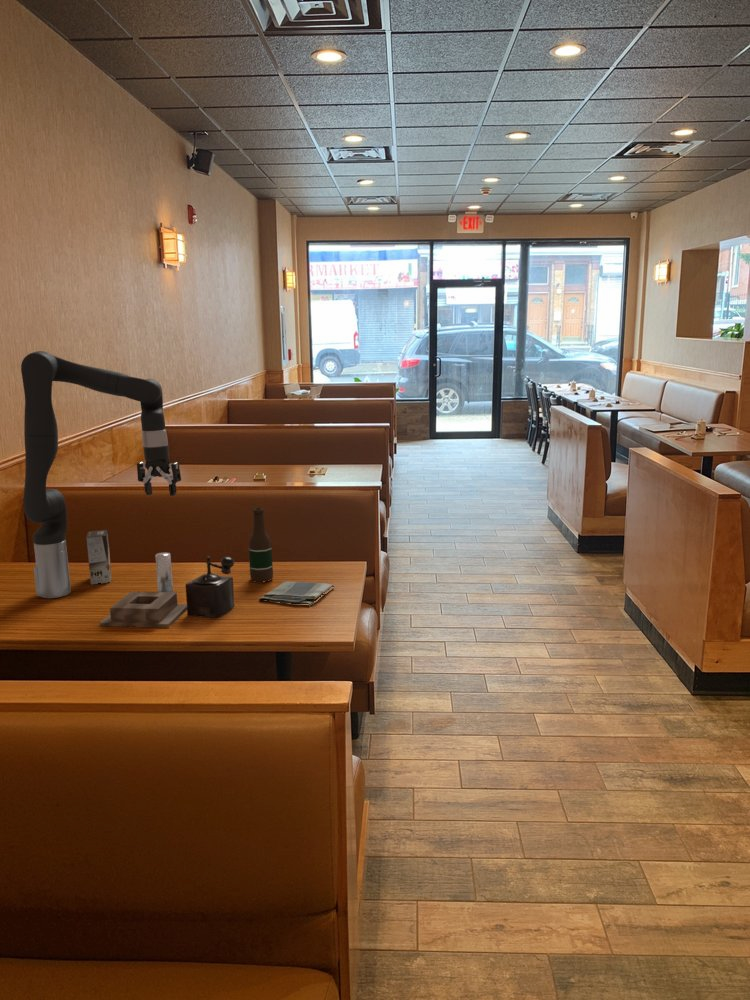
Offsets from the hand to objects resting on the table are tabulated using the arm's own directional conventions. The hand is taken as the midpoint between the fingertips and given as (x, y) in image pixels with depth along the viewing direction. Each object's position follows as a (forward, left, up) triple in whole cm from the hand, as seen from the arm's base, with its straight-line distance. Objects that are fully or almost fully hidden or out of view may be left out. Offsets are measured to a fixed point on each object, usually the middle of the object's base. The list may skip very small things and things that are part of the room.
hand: (161, 495), depth 239 cm
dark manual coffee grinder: (+24, -22, -30) cm, 45 cm away
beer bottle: (+29, +9, -30) cm, 43 cm away
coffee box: (-25, +6, -30) cm, 40 cm away
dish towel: (+44, -6, -31) cm, 54 cm away
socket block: (+4, -27, -30) cm, 41 cm away
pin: (+4, -11, -30) cm, 32 cm away
